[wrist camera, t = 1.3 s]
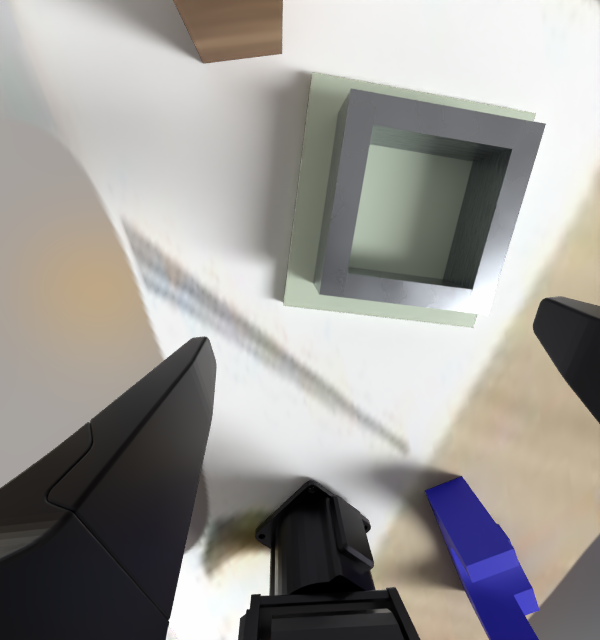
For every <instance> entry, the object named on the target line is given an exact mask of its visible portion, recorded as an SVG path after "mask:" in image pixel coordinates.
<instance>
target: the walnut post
mask: <svg viewBox="0 0 600 640" xmlns="http://www.w3.org/2000/svg"><path fill="white" fill-rule="evenodd" d="M173 1H174V3H175V5H176V7H177V9H178V11H179V13H180V15H181V18H182V20H183V22H184V24H185V26H186V28H187V30H188V32H189V34H190V36H191V38H192V40H193V43H194V45H195V47H196V49H197V51H198V53H199V55H200V57H201V59H202V61H203V63H211V62H219V61H227V60H235V59H243V58H252V57H260V56H268V55H276V54H282V13H283V0H173Z"/></svg>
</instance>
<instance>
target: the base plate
mask: <svg viewBox="0 0 600 640" xmlns="http://www.w3.org/2000/svg"><path fill="white" fill-rule="evenodd" d="M351 88H352V89H357V90H363V91H368V92H374V93H379V94H385V95H390V96H396V97H401V98H407V99H412V100H418V101H423V102H429V103H434V104H440V105H445V106H451V107H456V108H462V109H467V110H473V111H478V112H484V113H489V114H495V115H500V116H506V117H511V118H517V119H522V120H528V121H533V122H534V118H535V115H536V113H531V112H526V111H520V110H515V109H509V108H504V107H499V106H493V105H488V104H482V103H477V102H472V101H466V100H461V99H455V98H450V97H445V96H439V95H434V94H428V93H423V92H417V91H412V90H407V89H401V88H396V87H390V86H385V85H380V84H374V83H369V82H363V81H358V80H353V79H347V78H342V77H336V76H331V75H326V74H320V73H315V72H313V73H312V77H311V84H310V92H309V100H308V108H307V116H306V125H305V133H304V141H303V149H302V157H301V165H300V173H299V181H298V189H297V197H296V205H295V213H294V221H293V229H292V238H291V246H290V254H289V262H288V270H287V278H286V286H285V294H284V302H283V304H284V306H291V307H299V308H308V309H316V310H325V311H334V312H342V313H351V314H359V315H368V316H376V317H385V318H394V319H402V320H411V321H419V322H428V323H437V324H445V325H454V326H462V327H471V328H473V327H474V324H475V320H476V317H477V314H475V313H467V312H459V311H450V310H442V309H434V308H426V307H417V306H409V305H401V304H393V303H384V302H376V301H368V300H359V299H351V298H343V297H335V296H326V295H319V293H318V291H317V290H316V288H315V286H314V284H313V280H314V273H315V266H316V260H317V253H318V246H319V239H320V232H321V226H322V219H323V212H324V205H325V198H326V191H327V185H328V178H329V171H330V164H331V157H332V151H333V144H334V137H335V130H336V123H337V117H338V112H339V110H340V108H341V106H342V104H343V102H344V101H345V99H346V97H347V95H348V93H349V91H350V89H351ZM472 163H473V161H467V160H461V159H455V158H449V157H443V156H437V155H431V154H425V153H419V152H413V151H407V150H401V149H395V148H389V147H383V146H377V145H371V144H370V146H369V151H368V157H367V163H366V169H365V174H364V180H363V186H362V192H361V197H360V203H359V209H358V215H357V220H356V226H355V232H354V238H353V243H352V249H351V255H350V261H349V266H348V267H352V268H360V269H368V270H375V271H383V272H391V273H399V274H406V275H414V276H422V277H429V278H437V279H443V276H444V272H445V269H446V265H447V261H448V257H449V253H450V249H451V245H452V241H453V237H454V233H455V229H456V225H457V221H458V218H459V214H460V210H461V206H462V202H463V198H464V194H465V190H466V186H467V182H468V178H469V174H470V170H471V167H472Z"/></svg>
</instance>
